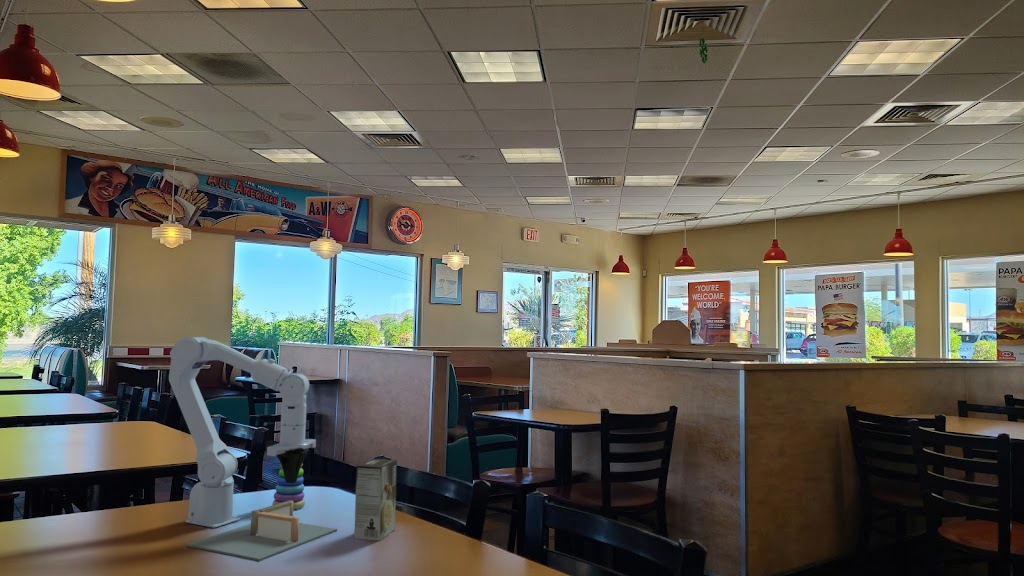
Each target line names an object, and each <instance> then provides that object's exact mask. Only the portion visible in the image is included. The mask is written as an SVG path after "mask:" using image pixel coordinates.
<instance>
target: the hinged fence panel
mask: <svg viewBox="0 0 1024 576" xmlns="http://www.w3.org/2000/svg"><path fill="white" fill-rule="evenodd" d="M299 523H300V517H299V516H295V515H293V516H289V515H282V514H275V513H269V512H260V513H258V534H257V535H261V536H267V537H273V538H279V539H285V540H291V541H297V540H298V534H299Z"/></svg>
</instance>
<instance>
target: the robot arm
mask: <svg viewBox="0 0 1024 576" xmlns="http://www.w3.org/2000/svg"><path fill="white" fill-rule="evenodd" d="M169 355H170V367H169V372H168V373H169V374H168V381H169V384H170V386H171V389H172V391H173V394H174V397H175V398H176V400H177V403H178V407H179V408H180V411H181V413H182V415H183V418H184V420H185V423H186V425H187V428H188V430H189V433H190V435H191V438H192V440H193V442H194V445H195V447H196V455H195V461H196V463H197V476H198V479H199V482H197V483H195V484H194V486H193V487H192V488H191V490H190V493H189V502H188V504H189V505H188V519H186V520H185V521H184V522H185V523H186V524H187V523H188V524H193V525H198V526H204V527H208V528H218V527H222V526H224V525H229V524H231V523H234V522H239V521H241V517H237V516H233V508H234V507H233V505H234V503H233V502H234V486H235V485H234V484H235V483H234V482H235V480H234V478H233V476H234V474H235V473H236V472H237V469H238V465H239V464H238V459H237V457H236V456H235V455H234V454H233V453H232V452H231V451H230V450H229V448H228V446H227V445H226V443H224V442H223V441H222V439H220V437H219V434H218V432H217V430H216V426H215V423H214V422H213V420H212V417H211V414H210V412H209V410H208V408H207V405H206V403H205V399H204V397H203V395H202V393H201V390H200V388H199V385H198V384H197V381H196V378H197V376H198V374H199V373H200V370H201V369H202V367H203V366H204V365H206V363H207V362H209V361H220V362H223V363H226V364H228V365H230V366H232V367H235V368H238V369H239V370H242V371H244V372H247V373H249V374H250V376H251V379H252V380H253V382H255V383H258V384H260V385H263V386H265V387H266V388H270V390H273V391H276V392H279V393H280V395H281V396H282V397H281V398H282V401H281V410H280V411H281V413H280V414H281V415H280V433H279V435H280V436H279V442H278V443H276V444H273V445H270V446H267V448H266V456H270V457H277V459H278V461H279V463H280V464H281V465H282V468H283V472H284V476H285V481H286V482H287V483H295V482H296V480H297V477H298V473H299V470H300V467H301V465H302V463H303V462H304V461H305V459H306V458H307V456H308V451H307V450H306V449H310V448H311V449H315V448H316V446H317V439H313V438H306V431H307V430H306V424H307V393H308V392H309V390H310V381H309V379H308V377H307V376H306V374H305V375H304V374H303V373H302V372H294V369H293V368H289V367H288V368H286V367H284V366H281V365H279V364H277V363H276V359H273V358H269V359H266V358H261V359H260V360H256V359H255V358H253V357H251V356H248V355H246V354H245V353H242V352H240V351H239V350H236V349H235V348H233V347H230V346H228V345H227V344H226V343H223V342H220V341H219V340H214V339H210V338H208V337H206V336H202V335H201V336H196V337H195V336H193V337H192V336H184V337H181V338H179V339H177V341H176V342H175V344H174V346H173V347H172V348H171V350H170V352H169ZM302 466H303V465H302ZM301 468H302V467H301Z"/></svg>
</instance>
